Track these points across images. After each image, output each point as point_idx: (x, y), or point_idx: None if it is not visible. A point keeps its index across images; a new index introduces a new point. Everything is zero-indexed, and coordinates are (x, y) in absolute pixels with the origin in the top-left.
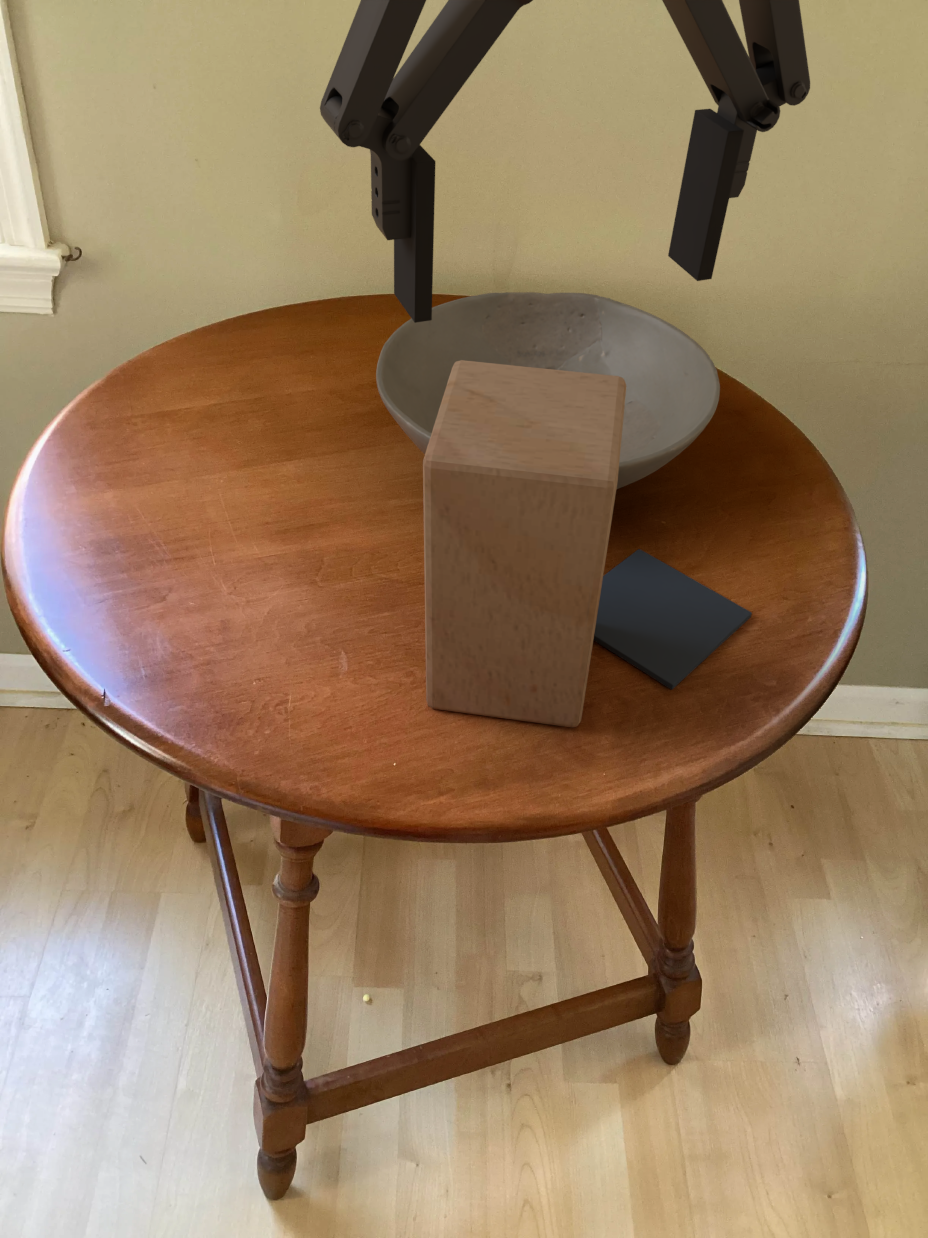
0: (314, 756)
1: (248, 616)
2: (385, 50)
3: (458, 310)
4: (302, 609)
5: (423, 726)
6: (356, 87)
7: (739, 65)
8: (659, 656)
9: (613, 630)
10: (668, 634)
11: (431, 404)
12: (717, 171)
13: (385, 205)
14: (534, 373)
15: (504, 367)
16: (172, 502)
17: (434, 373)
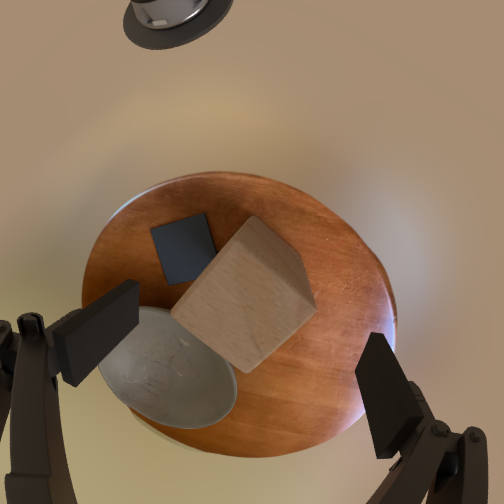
0: (350, 258)
1: (333, 333)
2: (477, 489)
3: (174, 422)
4: (314, 327)
5: (307, 249)
6: (487, 460)
7: (25, 373)
8: (198, 229)
9: (207, 251)
10: (187, 237)
11: (207, 393)
12: (89, 322)
13: (423, 399)
14: (214, 343)
15: (227, 355)
16: (323, 395)
17: (197, 404)
